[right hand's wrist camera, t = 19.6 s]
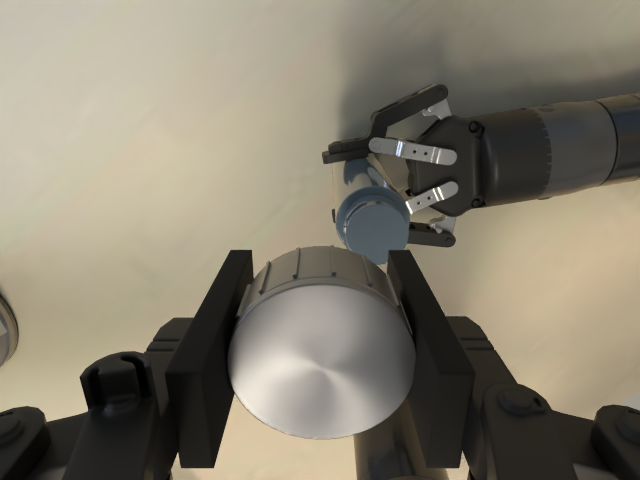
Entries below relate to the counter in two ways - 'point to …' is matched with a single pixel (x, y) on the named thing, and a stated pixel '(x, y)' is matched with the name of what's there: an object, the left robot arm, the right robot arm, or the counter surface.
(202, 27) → the counter surface
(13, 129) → the counter surface
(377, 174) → the bottle
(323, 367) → the lid
